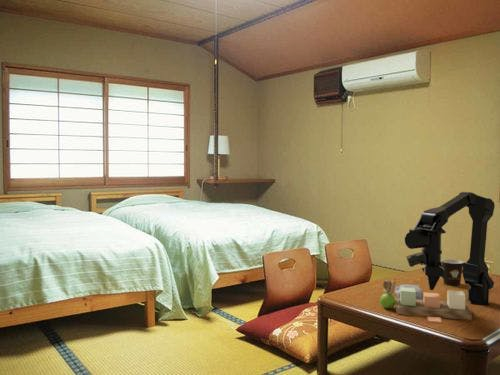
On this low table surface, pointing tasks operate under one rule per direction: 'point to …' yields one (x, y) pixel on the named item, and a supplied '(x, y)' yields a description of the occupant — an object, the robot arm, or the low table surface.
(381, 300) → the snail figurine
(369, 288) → the low table surface
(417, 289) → the stone block
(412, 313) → the walnut board
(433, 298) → the peach cube
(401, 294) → the key sage
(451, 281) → the coffee mug
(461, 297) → the cream cube
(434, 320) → the tile
